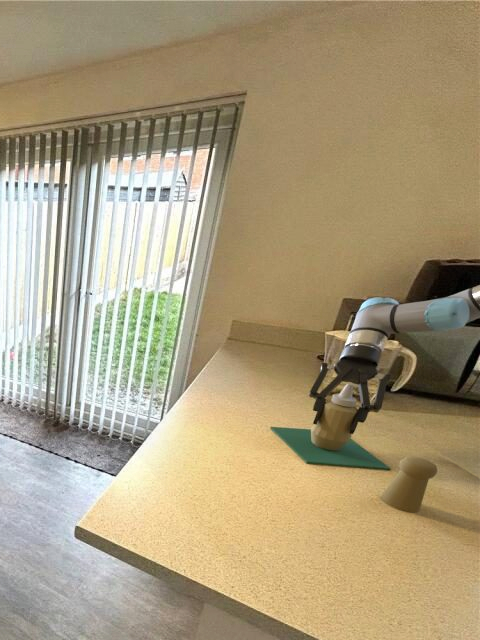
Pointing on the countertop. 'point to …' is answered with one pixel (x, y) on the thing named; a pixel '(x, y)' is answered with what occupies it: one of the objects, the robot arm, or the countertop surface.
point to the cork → (409, 484)
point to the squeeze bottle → (335, 421)
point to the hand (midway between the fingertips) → (333, 426)
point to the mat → (328, 451)
